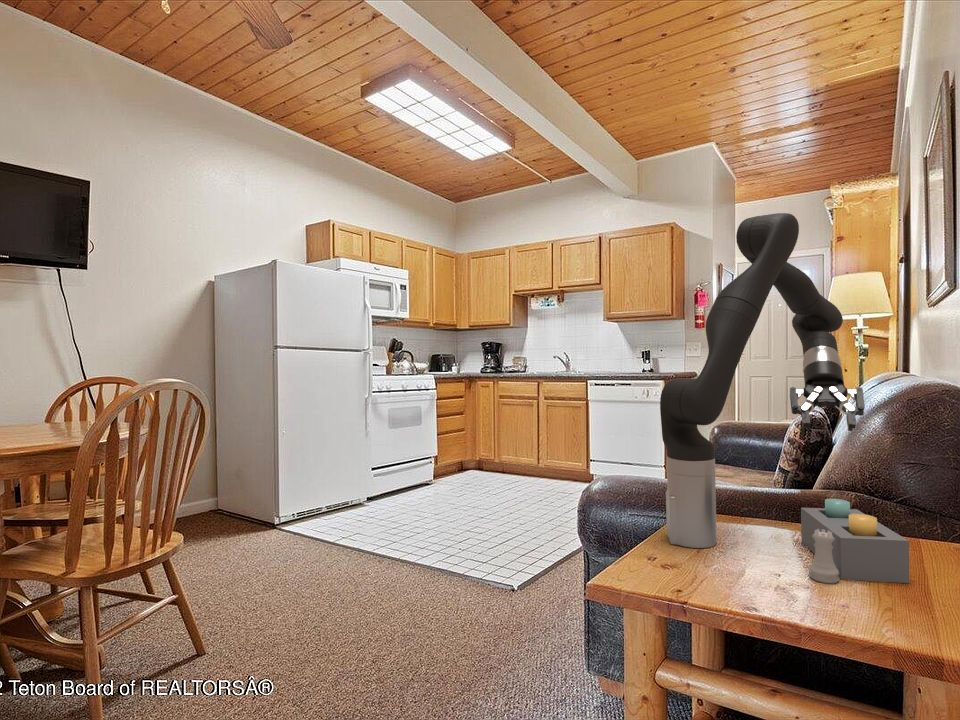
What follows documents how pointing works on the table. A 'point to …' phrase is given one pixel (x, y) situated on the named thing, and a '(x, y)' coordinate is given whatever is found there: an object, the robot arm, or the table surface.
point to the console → (859, 548)
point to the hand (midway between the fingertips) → (829, 427)
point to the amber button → (862, 525)
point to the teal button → (837, 508)
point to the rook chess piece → (823, 559)
